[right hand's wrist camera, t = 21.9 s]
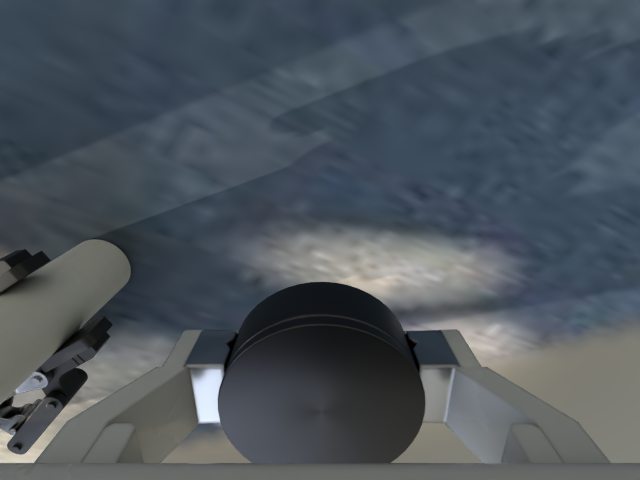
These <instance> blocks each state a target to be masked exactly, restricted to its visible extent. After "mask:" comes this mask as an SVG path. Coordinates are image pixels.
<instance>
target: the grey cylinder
mask: <svg viewBox="0 0 640 480" xmlns="http://www.w3.org/2000/svg"><path fill="white" fill-rule="evenodd" d="M130 275H131V267H130V263H129V261H128V259H127V257H126V256H125V254H124V253H123V252H122V251H121V250H120V249H119V248H118V247H116V246H115V245H113V244H111V243H109V242H107V241H103V240H97V239H92V240H87V241H84V242H82V243H80V244H79V245H77V246H76V247H74V248H72V249H71V250H69V251H67V252H66V253H64V254H63V255H61V256H59V257H58V258H56V259H54V260H53V261H51V262H50V263H48V264H46V265H45V266H43V267H41V268H40V269H38V270H37V271H35V272H33V273H32V274H30V275H28V276H27V277H25V278H24V279H22V280H21V281H19V282H17V283H16V284H14V285H12V286H11V287H9V288H8V289H6V290H4V291H3V292H1V293H0V404H1V403H3V402H4V401H5V400H6V399H7V398H8V397H9V396H10V395H11V394H12V393H13V392H14V391H15V390H16V389H17V388H18V387H19V386H20V385H21V384H22V383H23V382H24V381H26V380H27V379H28V378H29V377H30V376H31V375H32V374H33V373H34V372H35V371H36V370H37V369H38V368H39V367H40V366H41V365H42V364H43V363H44V362H45V361H46V360H47V359H48V358H50V357H51V356H52V355H53V354H54V353H55V352H56V351H57V350H58V349H59V348H60V347H61V346H62V345H63V344H64V343H65V342H66V341H67V340H68V339H69V338H70V337H71V336H73V335H74V334H75V333H76V332H77V331H78V330H79V329H80V328H81V327H82V326H83V325H84V324H85V323H86V322H87V321H88V320H89V319H90V318H91V317H92V316H93V315H94V314H95V313H97V312H98V311H99V310H100V309H101V308H102V307H103V306H104V305H105V304H106V303H107V302H108V301H109V300H110V299H111V298H112V297H113V296H114V295H115V294H116V293H117V292H118V291H120V290H121V289H122V288H123V287H124V286H125V285H126V284H127V282H128V281H129V278H130Z"/></svg>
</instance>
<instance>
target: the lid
mask: <svg viewBox="0 0 640 480" xmlns="http://www.w3.org/2000/svg"><path fill="white" fill-rule="evenodd" d="M425 405H426V400H425V391H424V387H423V384H422V380H421V377H420V375H419V372H418V369H417V366H416V364H415V361H414V358H413V355H412V353H411V350H410V347H409V344H408V341H407V339H406V336H405V333H404V331H403V329H402V326H401V324H400V323H399V321H398V319H397V318H396V316H395V315H394V314H393V313H392V312H391V310H390V309H389V308H388V307H387V306H386V305H384V304H383V303H382V302H381V301H380V300H378V299H377V298H375V297H373V296H372V295H370V294H369V293H366V292H364V291H362V290H360V289H358V288H355V287H351V286H348V285H344V284H339V283H331V282H310V283H304V284H298V285H295V286H291V287H288V288H285V289H283V290H281V291H278V292H276V293H275V294H273V295H271V296H269V297H268V298H266V299H265V300H263V301H262V302H261V303H260V304H258V305H257V306H256V307H255V308H254V309H253V310H252V311H251V312H250V314H249V315H248V316H247V318H246V319H245V320H244V322H243V324H242V326H241V328H240V330H239V333H238V336H237V339H236V341H235V344H234V347H233V350H232V353H231V356H230V359H229V362H228V364H227V367H226V370H225V373H224V376H223V379H222V382H221V385H220V388H219V393H218V413H219V418H220V422H221V425H222V427H223V430H224V432H225V434H226V435H227V437H228V439H229V440H230V442H231V443H232V444H233V446H234V447H235V448H236V449H237V450H238V451H239V452H240V453H241V454H242V455H243V456H244V457H245V458H247V459H248V460H249V461H250V462H252V463H391V462H392V461H394V460H395V459H397V458H398V457H399V456H400V455H401V454H402V453H403V452H404V451H405V450H406V449H407V448H408V447H409V446H410V444H411V443H412V442H413V440H414V439H415V437H416V436H417V434H418V432H419V430H420V427H421V425H422V422H423V418H424V414H425Z"/></svg>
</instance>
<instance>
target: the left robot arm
mask: <svg viewBox="0 0 640 480" xmlns="http://www.w3.org/2000/svg"><path fill="white" fill-rule="evenodd" d="M50 261H51V260H50V259H49V258H48V257H47V256H46V255H45V254H44V253H43V251H41V252H39V253H37V254H35V255H33V256H32V255H31V254H30V253H29V252H28V251H27V250H26V249H25V250H18V251H15V252H13V253H11V254H9V255H7V256H5V257H3V258H1V259H0V293H1V292H3V291H4V290H6V289H8V288H9V287H11V286H12V285H14V284H16V283H17V282H19V281H21V280H22V279H24V278H25V277H27V276H28V275H30V274H31V273H33V272H35V271H36V270H38V269H39V268H41V267H42V266H44V265H45V264H47V263H48V262H50ZM111 326H112V324H111V323H110V322H109V321H108V320H107V319H106V317H105V316H103V317H101V318H99V319H97V320H96V321H94V322H92V323H91V324H89V325H87V326H85V327H84V328H82V329H80V330H78V331H77V332H76V333H75V334H74V335H73V336H71V337H70V338H69V339H68V340H67V341H66V342H65V343H64V344H63V345H62V346H61V347H60V348H59V349H58V350H57V351H56V352H55V353H54V354H53V355H52V356H51V357H50V358H48V359H47V360H46V361H45V362H44V363H43V364H42V365H41V366H40V367H39V368H38V369H37V370H36V371H35V372H34V373H33V374H32V375H31V376H30V377H29V378H28V379H27V380H26V381H24V382H23V383H22V384H21V385H20V386H19V387H18V388H17V389H16V390H15V391H14V392H13V393H12V394H11V395H10V396H9V397H8V398H7V399H6V400H5V401H4V402H3V403H1V404H0V429H2V430H4V431H6V432H8V433H9V434H11V435H14V436H13V437H12V439H11V440H10V441H9V442H8V444H7V447H8V449H9V450H10V451H11V452H13V453H15V454H25V453H26V452H27V451H28V450H29V449H30V447H31V446H32V445H33V444H34V443H35V441H36V440H37V439H38V438H39V437H40V436H41V434H42V433H43V432H44V431H45V430H46V428H47V427H48V426H49V425H50V424H51V422H52V421H53V420H54V419H55V418H56V417H57V415H58V414H59V413H60V412H61V411H62V409H63V408H64V407H65V406H66V405H67V403H68V402H69V401H70V400H71V399H72V397H73V396H74V395H75V394H76V393H77V391H78V390H79V389H80V388H81V387H82V385H83V384H84V383H85V382H86V380H87V378H88V376H87V374H86V372H85V371H83V370H82V369H79V368H75V367H77V366H79V365H81V364H82V363H84V362H86V361H88V360H90V359H91V358H93V357H94V356H95V354H96V353H97V352H98V351H99V350H100V349H101V348H102V346H103V345H104V344H105V343H106V342H107V340H108V339H109V337H110V336H109V335H108V334H107V333H106V332H107V331H108V330H109V328H110V327H111ZM41 388H42V390H43V391H44V393H45V394H46V397H45V398H44V399H43V400H41V399H38V400H36V401H35V402H34V403H33V404H25V405H24V406H23V407H19V408H17V407H13V406H12V403H13V397H14V395H15V394H17V393H21V392H26V391H31V390H36V389H41Z"/></svg>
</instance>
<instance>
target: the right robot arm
mask: <svg viewBox="0 0 640 480" xmlns="http://www.w3.org/2000/svg"><path fill="white" fill-rule="evenodd" d="M238 333H239V331H238V330H185V331H184V332H183V333H182V334H181V336H180V338H179V339H178V341H177V343H176V344H175V346H174V348H173V349H172V351H171V353H170V354H169V356H168V358H167V359H166V361H165V363H164V364H163V366H162V367H156V368H154V369H153V370H151V371H149V372H148V373H146V374H144V375H143V376H141V377H139V378H138V379H136V380H134V381H133V382H131V383H129V384H128V385H126V386H125V387H123V388H121V389H120V390H118V391H116V392H115V393H113V394H111V395H110V396H108V397H106V398H105V399H103V400H101V401H100V402H98V403H97V404H95V405H93V406H92V407H90V408H88V409H87V410H85V411H83V412H82V413H80V414H78V415H77V416H75V417H73V418H72V419H70V420H68V421H67V422H66V423H65V425H64V426H63V427H62V428H61V430H60V431H59V432H58V433H57V435H56V436H55V437H54V438H53V440H52V441H51V442H50V443H49V445H48V446H47V447H46V448H45V450H44V451H43V452H42V453H41V455H40V456H39V457H38V459H37V460H36V461H35V462H34V463H0V480H640V463H611V462H610V461H609V460H608V459H607V457H606V456H605V455H604V454H603V452H602V451H601V450H600V449H599V447H598V446H597V445H596V444H595V442H594V441H593V440H592V439H591V437H590V436H589V435H588V434H587V432H586V431H585V430H584V429H583V427H582V426H581V425H580V424H579V422H577V421H576V420H574V419H572V418H571V417H569V416H567V415H566V414H564V413H562V412H561V411H559V410H557V409H556V408H554V407H552V406H551V405H549V404H547V403H546V402H544V401H542V400H541V399H539V398H537V397H536V396H534V395H533V394H531V393H529V392H528V391H526V390H524V389H523V388H521V387H519V386H518V385H516V384H514V383H513V382H511V381H509V380H508V379H506V378H504V377H503V376H501V375H499V374H498V373H496V372H494V371H493V370H491V369H489V368H488V367H481V365H480V364H479V362H478V360H477V359H476V357H475V356H474V354H473V352H472V351H471V349H470V347H469V346H468V344H467V343H466V341H465V339H464V338H463V336H462V335H461V333H460V331H458V330H457V329H453V330H429V331H404V333H405V336H406V339H407V341H408V344H409V347H410V350H411V353H412V355H413V358H414V361H415V364H416V366H417V369H418V372H419V375H420V377H421V380H422V384H423V387H424V391H425V400H426V405H425V414H424V418H423V422H422V423H446V426H447V427H448V428H449V429H450V430H451V431H452V432H453V433H454V434H455V435H456V436H457V437H458V438H459V439H460V440H461V441H462V442H463V443H464V444H465V445H466V446H467V447H468V448H469V449H470V450H471V451H472V452H473V453H474V454H475V455H476V456H477V457H478V458H479V459H480V460H481V461H482V462H483V463H161V462H162V461H163V460H164V459H165V458H166V457H167V456H168V455H169V454H170V453H171V452H172V451H173V450H174V449H175V448H176V447H177V446H178V445H179V444H180V443H181V442H182V441H183V440H184V439H185V438H186V437H187V436H188V435H189V434H190V433H191V432H192V431H193V430H194V429H195V428H196V427H197V426H198V424H197V423H221V422H220V418H219V413H218V393H219V388H220V385H221V382H222V379H223V376H224V373H225V370H226V367H227V364H228V362H229V359H230V356H231V353H232V350H233V347H234V344H235V341H236V339H237V336H238Z"/></svg>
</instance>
